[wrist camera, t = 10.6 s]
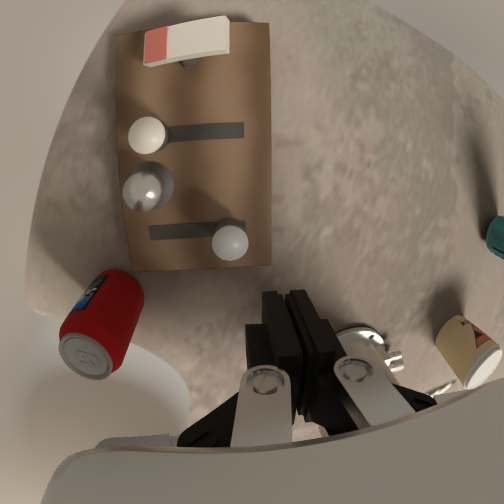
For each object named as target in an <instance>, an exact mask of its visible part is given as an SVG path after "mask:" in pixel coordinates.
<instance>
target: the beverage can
mask: <svg viewBox="0 0 504 504" xmlns="http://www.w3.org/2000/svg"><path fill="white" fill-rule="evenodd" d="M143 305H144V296H143V292H142V289H141V287H140V286H139V284H138V283H137V282H136V281H135V280H134V279H133V278H132V277H131V276H130V275H128V274H126V273H124V272H121V271H118V270H108V271H105V272H102V273H101V274H99V275H98V276H97V277H96V279H95V280H94V281H93V282H92V284H91V285H90V286H89V287H88V289H87V290H86V291H85V293H84V294H83V295H82V296H81V298H80V299H79V301H78V302H77V303H76V305H75V306H74V308H73V309H72V310H71V312H70V313H69V315H68V316H67V318H66V319H65V321H64V322H63V324H62V326H61V328H60V332H59V339H60V343H59V352H60V355H61V357H62V359H63V361H64V362H65V363H66V364H67V366H68V367H69V368H70V369H71V370H73V371H74V372H76V373H77V374H79V375H80V376H82V377H85V378H88V379H92V380H102V379H105V378H107V377H108V376H109V375H110V374H111V373H113V372H114V371H116V370H117V369H118V368H119V367H120V366H121V365H122V362H123V360H124V356H125V354H126V351H127V349H128V346H129V343H130V341H131V338H132V335H133V332H134V330H135V327H136V324H137V322H138V319H139V316H140V313H141V311H142V308H143Z"/></svg>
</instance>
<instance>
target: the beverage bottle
mask: <svg viewBox="0 0 504 504" xmlns="http://www.w3.org/2000/svg"><path fill="white" fill-rule="evenodd" d="M486 244H487V247H488V249H489V250H490V251H491V252H493V253H494V254H496V255H497V256H498V257H500V258H502V259H504V217H502V216H497V217H495V218H494V219H493V220H492V222H491V223H490V225H489V228H488V231H487V236H486Z"/></svg>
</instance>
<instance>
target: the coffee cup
mask: <svg viewBox="0 0 504 504" xmlns="http://www.w3.org/2000/svg"><path fill="white" fill-rule="evenodd" d="M435 344H436V347H437V348H438V350H439V351H440V353H441V354H442V355H443V357H444V358H445V360H446V361H447V363H448V364H449V365H450V367H451V368H452V370H453V371H454V373H455V374H456V376H457V377H458V378H459V380H460V381H461V383H462V384H463V387H464V388H465V389H468V390H469V389H474V388H476V387H478V386H479V385H480V384H482V383H483V382H484V381H485V380H486V379H487V378H488V377H489V375H491V373H492V372H493V371H494V370H495V368H496V367H497V365H498V363H499V362H500V359H501V357H502V349H501V346H500V345H499V344H497V343H495V342H494V341H493V340H492V339H491V338H490V337H488V336H487V335H486V334H485V333H484V332H482V331H481V330H480V329H479V328H477V327H476V326H475V325H474V324H472V323H471V322H470V321H468V320H467V319H466V318H464V317H463V316H461V315H456V316H454V317H452V318H451V319H449V320H448V321H447V322H446V323H445V324H444V325H443V327H442V328H441V329H440V331H439V333H438V335H437V337H436V341H435Z"/></svg>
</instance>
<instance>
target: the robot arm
mask: <svg viewBox="0 0 504 504" xmlns="http://www.w3.org/2000/svg"><path fill="white" fill-rule="evenodd" d="M245 337H246V358H247V369H248V370H247V371H246V372H245V373H244V374H243V376H242V378H241V382H240V388H239V392H237V393H236V394H235V395H234V396H232V397H231V398H230V399H228V400H227V401H226V402H224V403H223V404H221V405H220V406H219V407H217V408H216V409H215V410H213V411H212V412H210V413H209V414H208V415H206V416H205V417H203V418H202V419H200V420H199V421H198V422H196V423H195V424H193V425H192V426H190V427H189V428H187V429H186V430H185V431H184V432H183V433H181V435H179V436H171V437H170V435H169V434H163V435H152V436H138V437H119V438H108V439H104V440H102V441H101V442H99V443H98V444H97V446H96V447H95V448H93V449H88V450H84V451H80V452H77V453H74V454H72V455H70V456H69V457H67V458H66V459H65V460H64V461H62V463H61V464H60V465H59V466H58V468H57V469H56V471H55V472H54V474H53V476H52V478H51V480H50V482H49V484H48V486H47V488H46V491H45V494H44V495H43V498H42V501H41V504H504V378H500V379H497V380H494V381H491V382H488V383H486V384H484V385H481V386H479V387H476V388H474V389H469V390H463V391H458V392H453V393H447V394H440V395H434V397H433V398H432V397H430V396H428V395H426V394H423V393H420V392H417V391H414V390H411V389H408V388H405V387H402V386H401V385H400V384H399V382H398V380H397V379H396V377H395V376H394V374H393V372H397V371H400V370H403V368H404V363H403V361H402V360H401V357H402V354H401V351H395V352H392V353H389V354H388V353H387V352H386V351H385V346H384V341H383V339H382V338H381V336H380V335H379V334H378V333H377V332H376V331H375V330H373V329H371V328H366V327H356V328H350V329H347V330H344V331H341V332H339V333H337V334H335V332H334V330H333V328H332V327H331V325H330V323H329V321H328V320H327V319H320V318H319V316H318V314H317V312H316V310H315V308H314V306H313V304H312V302H311V300H310V299H309V297H308V295H307V293H306V291H305V290H291V291H290V294H286V295H285V301H284V298H283V296H282V294H277V291H266V292H262V324H245ZM390 361H391V362H390ZM296 408H297V412H298V415H303V416H304V420H305V423H306V422H314V423H316V424H318V425H319V431H320V434H321V435H322V438H316V439H310V440H304V441H297V442H292V425H293V424H294V420H295V414H296Z"/></svg>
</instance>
